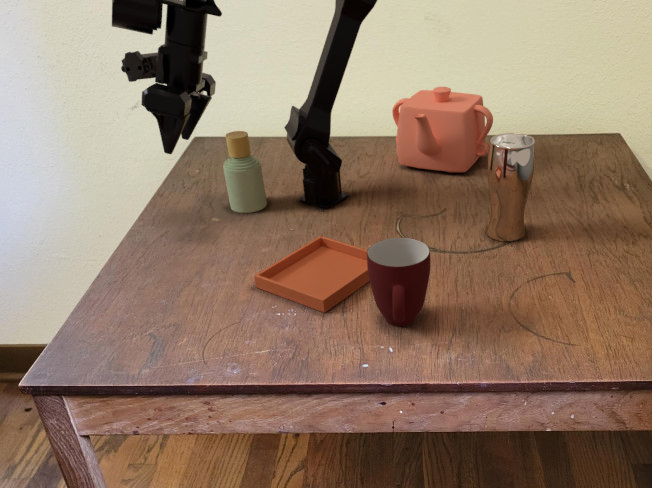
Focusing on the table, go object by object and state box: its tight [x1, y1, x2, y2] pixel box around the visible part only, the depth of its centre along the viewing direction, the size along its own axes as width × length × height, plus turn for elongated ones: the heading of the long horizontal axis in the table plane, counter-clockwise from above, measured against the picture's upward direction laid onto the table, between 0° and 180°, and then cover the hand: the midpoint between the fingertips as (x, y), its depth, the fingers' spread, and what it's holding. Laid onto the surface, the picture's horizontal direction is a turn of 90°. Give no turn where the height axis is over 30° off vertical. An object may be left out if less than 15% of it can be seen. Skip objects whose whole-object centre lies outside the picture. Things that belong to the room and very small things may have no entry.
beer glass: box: [486, 132, 536, 243], centre depth 110 cm, size 7×7×15 cm
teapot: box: [391, 86, 494, 174], centre depth 133 cm, size 20×19×14 cm
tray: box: [253, 235, 370, 313], centre depth 105 cm, size 15×13×2 cm
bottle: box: [222, 153, 268, 214], centre depth 123 cm, size 6×6×12 cm
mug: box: [367, 237, 431, 327], centre depth 92 cm, size 11×8×10 cm
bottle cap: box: [225, 130, 252, 158], centre depth 120 cm, size 4×4×3 cm
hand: (176, 146), depth 114 cm, fingers open, 9 cm apart
